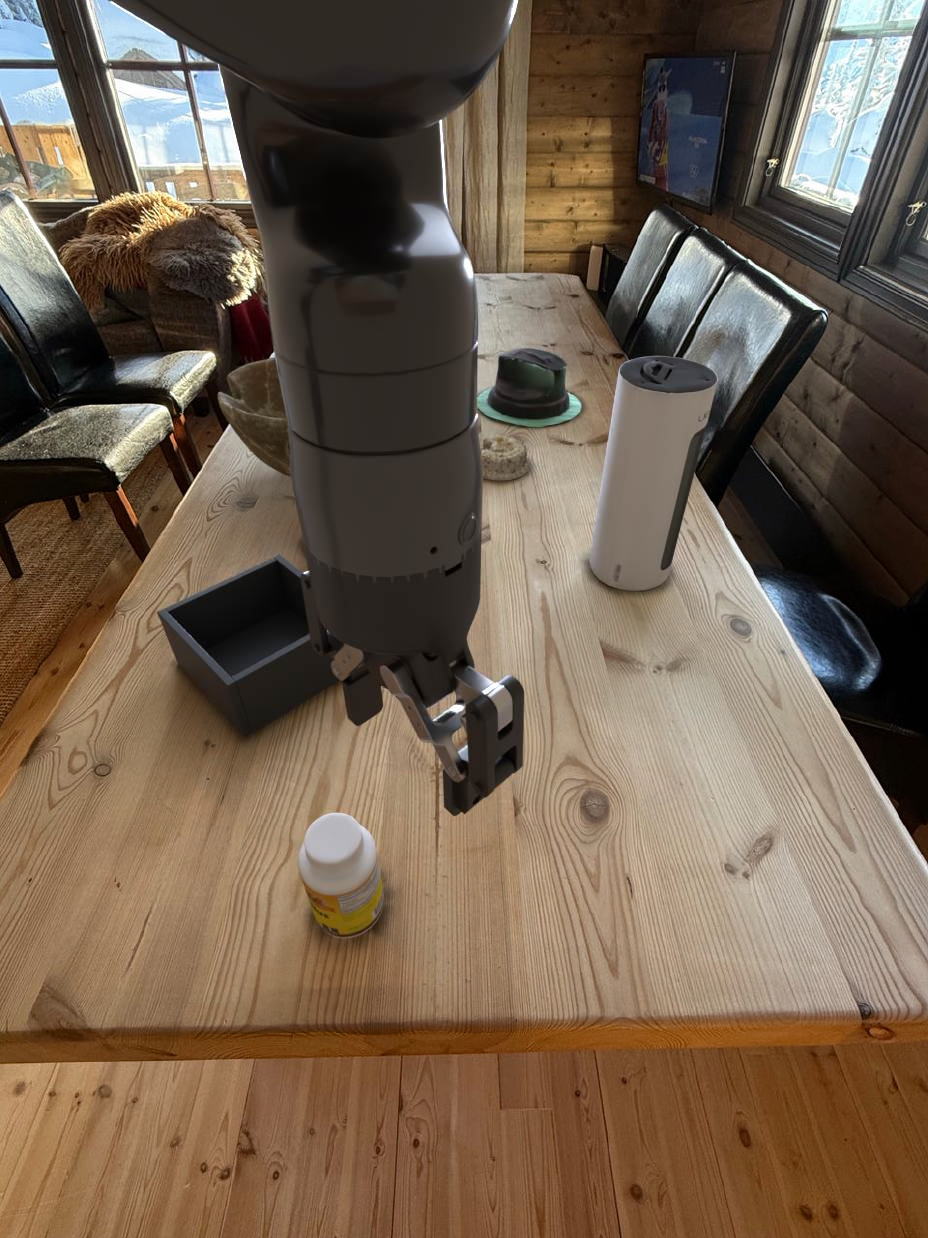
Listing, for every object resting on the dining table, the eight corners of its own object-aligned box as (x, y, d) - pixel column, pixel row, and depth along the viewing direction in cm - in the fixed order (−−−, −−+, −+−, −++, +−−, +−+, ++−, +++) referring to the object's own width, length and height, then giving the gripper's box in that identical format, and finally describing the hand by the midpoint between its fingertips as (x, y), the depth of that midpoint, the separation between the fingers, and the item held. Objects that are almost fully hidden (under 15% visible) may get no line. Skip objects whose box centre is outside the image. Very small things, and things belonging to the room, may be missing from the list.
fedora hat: (600, 390, 128) (567, 434, 115) (520, 419, 139) (481, 461, 126) (570, 314, 122) (532, 351, 108) (489, 351, 133) (445, 388, 120)
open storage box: (245, 738, 65) (227, 686, 60) (177, 663, 73) (156, 611, 68) (363, 665, 72) (356, 613, 67) (290, 604, 80) (279, 554, 75)
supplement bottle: (304, 891, 53) (281, 821, 46) (369, 861, 55) (356, 790, 48) (327, 955, 49) (306, 889, 42) (396, 921, 51) (385, 852, 44)
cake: (528, 456, 111) (533, 426, 107) (527, 486, 103) (532, 455, 100) (470, 449, 111) (473, 418, 107) (464, 478, 103) (467, 447, 100)
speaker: (646, 604, 80) (696, 395, 63) (572, 573, 85) (599, 371, 68) (681, 563, 87) (735, 363, 70) (610, 536, 91) (644, 343, 74)
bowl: (219, 519, 95) (190, 420, 85) (257, 436, 115) (237, 349, 105) (410, 515, 95) (404, 417, 86) (415, 434, 116) (410, 346, 106)
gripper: (224, 486, 29) (288, 723, 40) (441, 643, 22) (448, 885, 32) (359, 434, 33) (385, 663, 44) (583, 551, 25) (548, 794, 36)
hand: (412, 757), depth 38 cm, fingers open, 8 cm apart
